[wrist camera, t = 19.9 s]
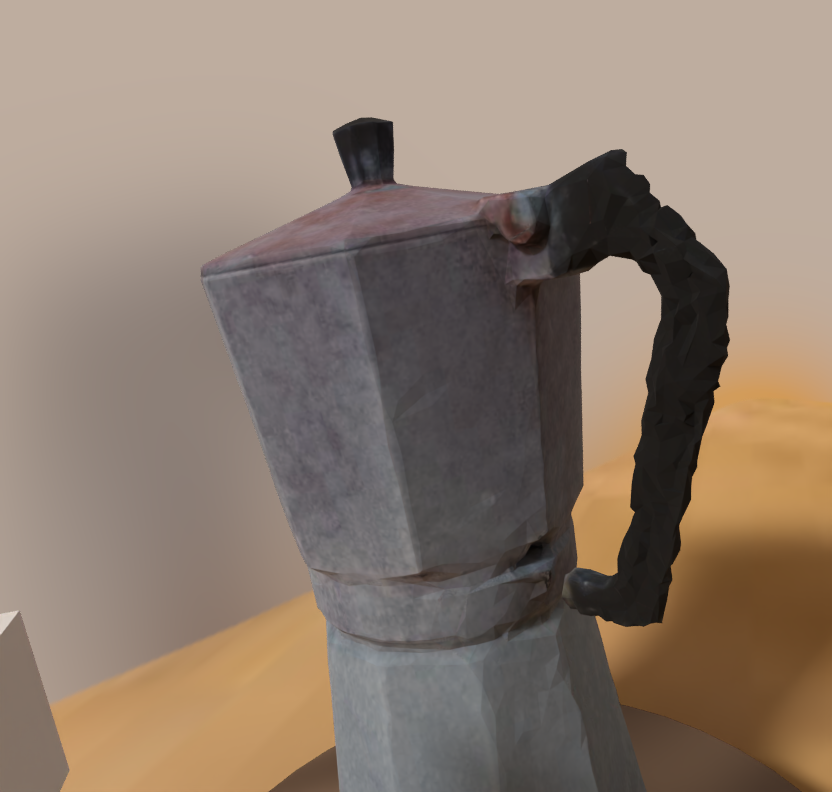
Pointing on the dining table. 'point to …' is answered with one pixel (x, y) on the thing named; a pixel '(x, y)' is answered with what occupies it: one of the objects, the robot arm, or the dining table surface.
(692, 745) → the disc
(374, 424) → the moka pot
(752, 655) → the dining table surface
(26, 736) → the robot arm
